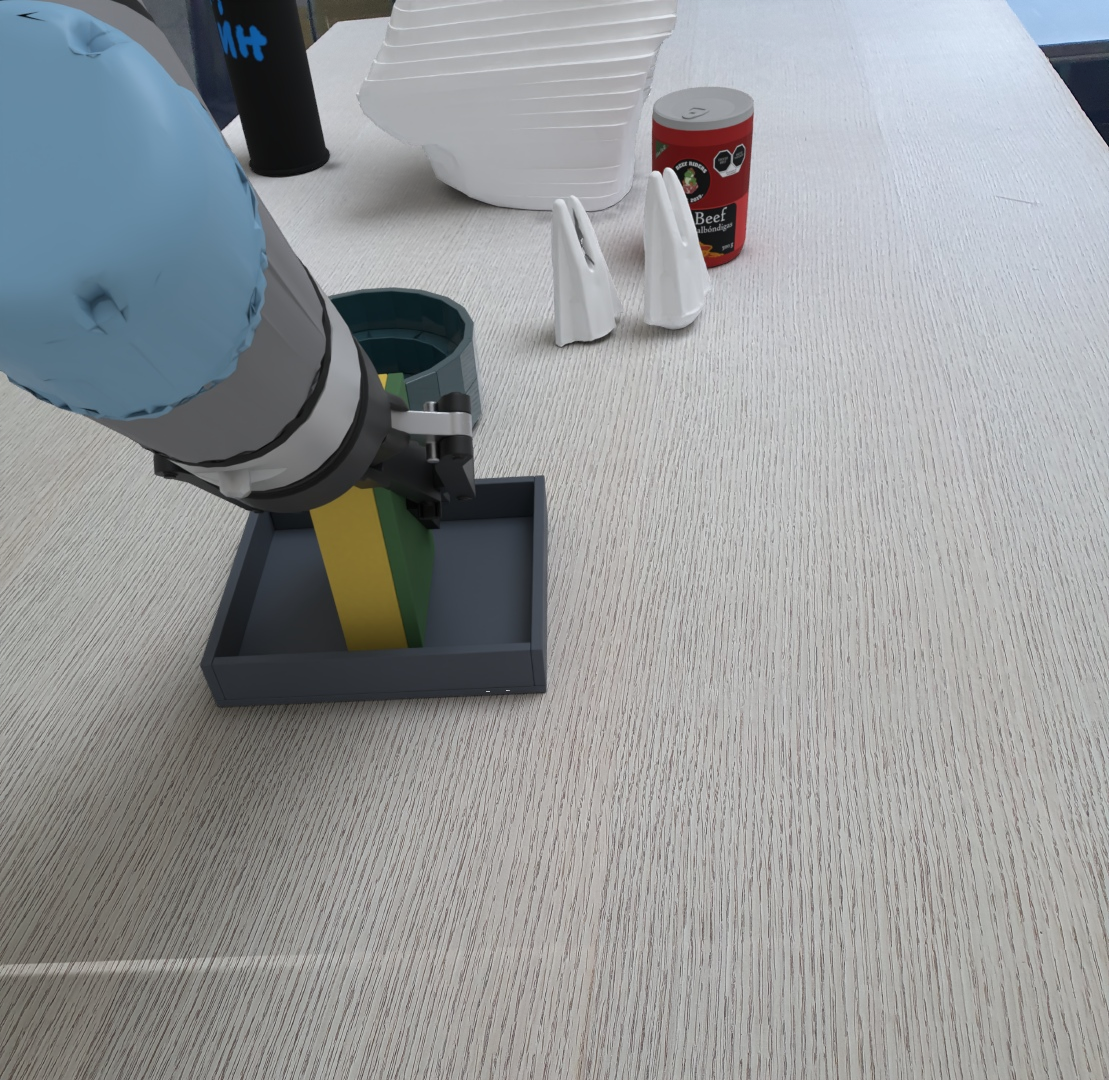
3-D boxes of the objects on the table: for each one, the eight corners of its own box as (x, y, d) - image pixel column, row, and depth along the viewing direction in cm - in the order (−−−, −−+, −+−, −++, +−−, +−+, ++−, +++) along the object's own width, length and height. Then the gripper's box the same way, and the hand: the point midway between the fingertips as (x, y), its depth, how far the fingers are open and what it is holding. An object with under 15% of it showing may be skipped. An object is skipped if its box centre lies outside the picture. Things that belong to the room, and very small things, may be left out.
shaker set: (709, 308, 83) (715, 152, 75) (717, 334, 80) (725, 175, 72) (553, 321, 83) (542, 167, 75) (556, 348, 80) (545, 191, 72)
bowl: (261, 483, 70) (235, 399, 66) (296, 373, 80) (276, 294, 75) (478, 471, 69) (467, 386, 65) (487, 362, 79) (478, 281, 75)
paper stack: (672, 215, 95) (679, -162, 76) (373, 223, 98) (308, -138, 79) (677, 130, 109) (683, -206, 90) (415, 139, 112) (369, -184, 93)
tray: (216, 707, 56) (199, 665, 54) (269, 531, 66) (256, 490, 64) (546, 692, 55) (542, 649, 53) (547, 516, 66) (544, 474, 63)
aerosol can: (303, 140, 114) (252, -95, 99) (345, 159, 109) (298, -86, 95) (235, 163, 111) (171, -77, 96) (275, 183, 106) (215, -66, 91)
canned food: (640, 266, 88) (640, 118, 80) (665, 226, 93) (667, 83, 85) (733, 274, 86) (742, 123, 78) (753, 232, 91) (764, 87, 83)
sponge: (348, 654, 57) (298, 472, 49) (367, 552, 63) (325, 377, 55) (423, 649, 57) (385, 467, 49) (435, 548, 63) (402, 371, 55)
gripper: (23, 509, 38) (245, 582, 61) (508, 482, 37) (545, 566, 60) (9, 292, 37) (237, 448, 61) (498, 260, 37) (539, 431, 60)
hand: (390, 507), depth 61 cm, fingers closed on sponge, 4 cm apart
